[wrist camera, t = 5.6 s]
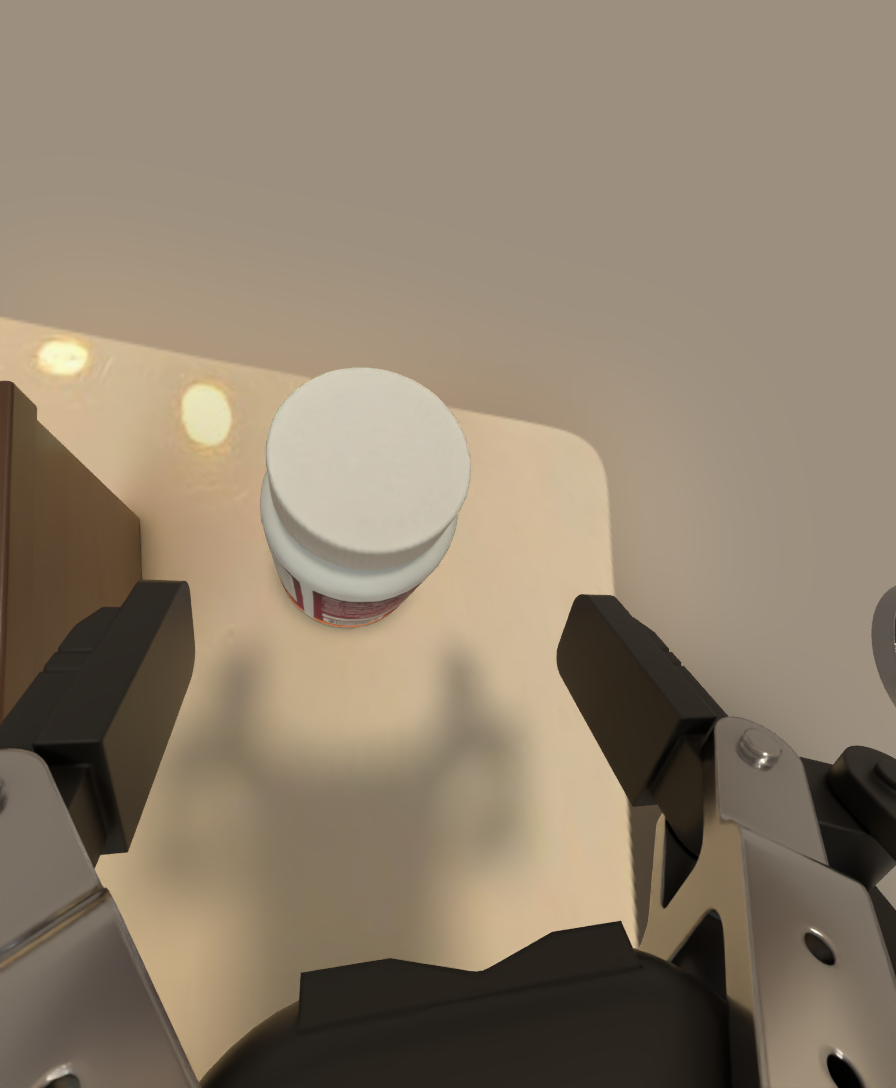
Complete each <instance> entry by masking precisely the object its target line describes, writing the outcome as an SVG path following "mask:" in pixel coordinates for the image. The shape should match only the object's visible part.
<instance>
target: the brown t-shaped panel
mask: <svg viewBox="0 0 896 1088" xmlns="http://www.w3.org/2000/svg"><path fill="white" fill-rule="evenodd" d="M139 580H141V554H140V527H139V518H138V517H137V516H136V515H135V514H134V513H133V512H132V511H131V510H130V509H129V508H128V507H127V506H126V505H125V504H124V503H123V502H122V501H121V500H120V499H119V498H118V497H117V496H116V495H115V494H113V493H112V492H111V491H110V490H109V489H108V488H107V487H106V486H105V485H104V484H103V483H102V482H101V481H100V480H99V479H98V478H97V477H96V476H95V475H94V474H93V473H92V472H91V471H90V470H89V469H88V468H86V467H85V466H84V465H83V464H82V463H81V462H80V461H79V460H78V459H77V458H76V457H75V456H74V455H73V454H72V453H71V452H70V451H69V450H68V449H67V448H66V447H65V446H64V445H63V444H62V443H61V442H59V441H58V440H57V439H56V438H55V437H54V436H53V435H52V434H51V433H50V432H49V431H48V430H47V429H46V428H45V427H44V426H43V425H42V424H41V423H40V422H39V421H38V420H37V407H36V405H35V404H34V403H33V402H32V401H31V400H30V399H29V398H28V397H27V396H26V395H25V394H24V393H23V392H22V391H21V390H20V389H19V388H18V387H17V386H16V385H15V384H14V383H13V382H10V381H0V724H1V723H2V722H3V720H4V719H5V718H6V716H7V715H8V714H9V712H10V711H11V710H12V708H13V707H14V706H15V704H16V703H17V702H18V700H19V699H20V698H21V696H22V695H23V694H24V692H25V691H26V690H27V688H28V687H29V686H30V684H31V683H32V682H33V680H34V679H35V678H36V676H37V675H38V674H39V672H43V670H44V666H45V664H46V663H47V662H48V660H49V659H50V658H51V656H52V655H53V654H54V652H58V647H59V646H60V644H61V643H62V642H63V640H64V639H65V638H66V636H67V635H68V634H69V632H70V631H71V630H72V628H73V627H74V626H75V625H76V624H77V623H79V622H80V621H82V620H83V619H85V618H86V617H88V616H89V615H91V614H92V613H94V612H95V611H97V610H98V609H100V608H101V607H121V606H122V604H123V603H124V601H125V600H126V598H127V597H128V595H129V593H130V592H131V590H132V589H133V587H134V586H135V584H136V583H137V582H138V581H139Z"/></svg>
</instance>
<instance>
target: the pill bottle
mask: <svg viewBox="0 0 896 1088" xmlns="http://www.w3.org/2000/svg"><path fill="white" fill-rule="evenodd" d="M266 466H267V471H266V474H265V477H264V480H263V484H262V489H261V497H260V510H261V521H262V524H263V527H264V531H265V535H266V538H267V542H268V545H269V548H270V550H271V553H272V556H273V559H274V562H275V565H276V568H277V571H278V574H279V577H280V579H281V582H282V584H283V586H284V588H285V590H286V592H287V594H288V595H289V597H290V598H291V600H292V601H293V602H294V604H295V605H296V606H297V607H298V608H299V609H300V610H301V611H303V612H304V613H305V614H307V615H308V616H310V617H311V618H313V619H314V620H317V621H319V622H321V623H324V624H327V625H330V626H335V627H344V628H351V627H360V626H365V625H368V624H371V623H374V622H377V621H379V620H380V619H382V618H384V617H386V616H387V615H389V614H390V613H391V612H393V611H394V610H395V609H396V608H397V607H398V606H399V605H400V604H401V603H402V602H403V601H404V600H405V599H406V598H407V597H408V596H409V595H410V594H411V593H412V592H413V591H414V590H415V589H416V588H417V587H418V586H419V585H420V584H421V583H422V582H423V581H424V580H425V579H426V578H427V577H428V576H429V575H430V574H431V573H432V572H433V571H434V570H435V569H436V568H437V566H438V565H439V563H440V562H441V560H442V559H443V557H444V556H445V554H446V552H447V550H448V548H449V547H450V544H451V542H452V539H453V536H454V533H455V529H456V524H457V516H458V512H459V511H460V509H461V507H462V505H463V503H464V500H465V498H466V495H467V491H468V488H469V482H470V474H471V463H470V454H469V448H468V444H467V441H466V438H465V435H464V433H463V430H462V428H461V427H460V425H459V423H458V421H457V420H456V418H455V416H454V415H453V414H452V412H451V411H450V410H449V408H448V407H447V406H446V405H445V404H444V403H443V402H442V401H441V400H440V399H439V398H438V397H437V396H436V395H435V394H433V393H432V392H431V391H430V390H428V389H427V388H426V387H424V386H422V385H421V384H419V383H418V382H416V381H414V380H412V379H410V378H408V377H405V376H403V375H400V374H398V373H395V372H392V371H387V370H382V369H376V368H361V367H360V368H346V369H339V370H334V371H331V372H327V373H324V374H322V375H320V376H318V377H315V378H313V379H311V380H310V381H308V382H306V383H305V384H303V385H302V386H300V387H299V388H298V389H296V390H295V391H294V392H293V393H292V394H291V395H290V396H289V397H288V398H287V399H286V400H285V401H284V403H283V404H282V405H281V406H280V408H279V410H278V411H277V413H276V415H275V417H274V419H273V421H272V424H271V427H270V430H269V433H268V438H267V443H266Z"/></svg>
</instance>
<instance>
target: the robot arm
mask: <svg viewBox="0 0 896 1088" xmlns="http://www.w3.org/2000/svg"><path fill="white" fill-rule="evenodd" d="M194 660H195V641H194V630H193V619H192V609H191V598H190V589H189V585H188V583H187V582H186V581H167V580H139V581H138V582H137V583H136V584H135V586H134V587H133V589H132V590H131V592H130V593H129V595H128V597H127V598H126V600H125V601H124V603H123V604H122V606H121V607H101V608H100V609H98V610H97V611H95V612H94V613H92V614H91V615H89V616H88V617H86V618H85V619H83V620H82V621H80V622H79V623H77V624H76V625H75V626H74V627H73V628H72V630H71V631H70V632H69V634H68V635H67V636H66V638H65V639H64V640H63V642H62V643H61V644H60V646H59V647H58V652H54V654H53V655H52V656H51V658H50V659H49V660H48V662H47V663H46V664H45V666H44V670H43V672H39V674H38V675H37V676H36V678H35V679H34V680H33V682H32V683H31V684H30V686H29V687H28V688H27V690H26V691H25V692H24V694H23V695H22V696H21V698H20V699H19V700H18V702H17V703H16V704H15V706H14V707H13V708H12V710H11V711H10V712H9V714H8V715H7V716H6V718H5V719H4V720H3V722H2V723H1V724H0V1088H896V910H895V909H894V908H893V906H891V904H890V903H889V902H888V900H887V899H886V898H885V897H884V896H883V894H882V893H881V892H880V891H879V890H878V888H877V887H876V886H875V885H876V884H877V883H878V882H879V881H880V880H881V879H882V878H883V877H884V876H885V875H886V874H887V873H888V872H889V871H890V870H891V869H892V868H893V867H894V866H896V759H894V758H893V757H891V756H889V755H887V754H885V753H882V752H880V751H877V750H875V749H871V748H868V747H864V746H850V747H848V748H846V750H844V752H843V753H842V754H841V755H840V757H839V758H838V759H837V761H836V762H835V763H834V764H833V765H832V764H828V763H823V762H819V761H815V760H811V759H806V758H803V757H799V756H798V755H797V754H796V752H795V751H794V750H793V749H792V748H791V747H790V746H789V745H788V744H787V743H786V742H785V741H784V740H783V739H781V738H780V737H779V736H778V735H776V734H775V733H773V732H772V731H770V730H769V729H767V728H765V727H764V726H762V725H759V724H757V723H755V722H753V721H750V720H747V719H744V718H740V717H728V715H727V714H726V713H725V712H724V711H723V710H722V709H721V708H720V706H719V705H718V704H717V703H716V702H715V701H714V700H713V698H712V697H711V696H710V695H709V694H708V693H707V691H706V690H705V689H704V688H703V687H702V686H701V685H700V684H699V682H698V681H697V680H696V679H695V678H694V677H693V676H692V674H691V673H690V672H689V671H688V670H687V669H686V668H685V667H684V666H681V662H680V661H679V660H678V659H677V657H676V656H675V655H674V654H673V653H672V652H669V649H668V647H667V646H666V645H665V644H664V643H663V641H662V640H661V639H660V638H659V637H658V636H657V635H656V634H655V632H653V631H652V630H650V629H649V628H648V627H646V626H645V625H644V624H642V623H641V622H639V621H638V620H636V619H635V618H633V617H632V616H631V615H630V614H629V612H628V611H627V610H626V609H625V608H624V607H623V605H622V604H621V603H620V602H619V601H618V599H617V598H615V597H614V596H612V595H585V594H581V595H579V596H577V597H576V598H575V600H574V602H573V605H572V607H571V610H570V613H569V616H568V619H567V622H566V625H565V628H564V630H563V633H562V636H561V639H560V642H559V645H558V648H557V667H558V671H559V673H560V676H561V678H562V679H563V681H564V683H565V685H566V687H567V688H568V690H569V692H570V694H571V696H572V697H573V699H574V701H575V703H576V705H577V707H578V708H579V710H580V712H581V714H582V716H583V717H584V719H585V721H586V723H587V725H588V726H589V728H590V730H591V732H592V734H593V736H594V737H595V739H596V741H597V743H598V745H599V746H600V748H601V750H602V752H603V754H604V755H605V757H606V759H607V761H608V763H609V765H610V766H611V768H612V770H613V772H614V774H615V775H616V777H617V779H618V781H619V783H620V785H621V786H622V788H623V790H624V792H625V794H626V795H627V797H628V799H629V801H630V803H631V804H632V806H633V807H635V806H646V805H656V804H658V806H659V808H660V809H661V811H662V815H661V817H660V818H659V820H658V822H657V827H656V837H655V850H654V861H653V873H652V886H651V897H650V909H649V919H648V924H647V928H646V932H645V935H644V938H643V940H642V943H641V945H640V949H639V950H638V949H635V948H633V947H632V945H631V943H630V941H629V938H628V936H627V934H626V931H625V929H624V927H623V925H622V922H621V921H617V922H611V923H604V924H598V925H592V926H586V927H580V928H574V929H568V930H561V931H555V932H551V933H549V934H548V935H546V936H544V937H542V938H541V939H539V940H537V941H535V942H534V943H532V944H530V945H528V946H527V947H525V948H523V949H521V950H520V951H518V952H516V953H514V954H513V955H511V956H509V957H507V958H506V959H504V960H502V961H500V962H499V963H497V964H495V965H493V966H492V967H490V968H488V969H486V970H483V971H478V972H475V971H466V970H460V969H454V968H447V967H441V966H435V965H429V964H422V963H416V962H410V961H404V960H398V959H391V958H389V959H383V960H377V961H371V962H364V963H358V964H352V965H346V966H340V967H334V968H327V969H321V970H315V971H309V972H303V973H301V978H300V995H299V1001H297V1002H295V1003H293V1004H292V1005H290V1006H288V1007H286V1008H284V1009H282V1010H280V1011H278V1012H276V1013H275V1014H274V1015H272V1016H271V1017H269V1018H268V1019H266V1020H265V1021H263V1022H262V1023H260V1024H259V1025H258V1026H256V1027H255V1028H253V1029H252V1030H251V1031H250V1032H249V1033H247V1034H246V1035H245V1036H244V1037H243V1038H242V1039H240V1040H239V1041H238V1042H237V1043H236V1044H235V1045H233V1046H232V1047H231V1048H230V1049H229V1050H228V1051H227V1052H226V1053H225V1054H224V1055H223V1056H222V1057H221V1058H220V1059H219V1061H218V1062H217V1063H216V1064H215V1065H214V1066H213V1067H212V1068H211V1069H210V1070H209V1071H208V1072H207V1073H206V1074H205V1076H204V1077H203V1078H202V1079H201V1081H200V1082H199V1083H198V1080H197V1078H196V1076H195V1074H194V1072H193V1070H192V1067H191V1065H190V1063H189V1061H188V1059H187V1057H186V1054H185V1052H184V1050H183V1048H182V1046H181V1044H180V1041H179V1039H178V1037H177V1035H176V1033H175V1031H174V1028H173V1026H172V1024H171V1022H170V1020H169V1018H168V1016H167V1013H166V1011H165V1009H164V1007H163V1005H162V1003H161V1000H160V998H159V996H158V994H157V992H156V990H155V987H154V985H153V983H152V981H151V979H150V977H149V974H148V972H147V970H146V968H145V966H144V964H143V961H142V959H141V957H140V955H139V953H138V951H137V948H136V946H135V944H134V942H133V940H132V938H131V935H130V933H129V931H128V929H127V927H126V925H125V922H124V920H123V918H122V916H121V914H120V912H119V909H118V907H117V905H116V903H115V901H114V899H113V897H112V896H111V894H110V892H109V890H108V889H107V888H103V886H102V884H101V882H100V880H99V878H98V876H97V874H96V872H95V867H96V864H97V862H98V859H99V857H100V855H104V854H115V853H125V852H128V850H129V848H130V845H131V842H132V839H133V837H134V834H135V831H136V828H137V826H138V823H139V820H140V817H141V815H142V812H143V809H144V806H145V804H146V801H147V798H148V795H149V793H150V790H151V787H152V784H153V782H154V779H155V776H156V773H157V771H158V768H159V765H160V762H161V760H162V757H163V754H164V751H165V749H166V746H167V743H168V740H169V738H170V735H171V732H172V729H173V727H174V724H175V721H176V718H177V716H178V713H179V710H180V707H181V705H182V702H183V699H184V696H185V694H186V691H187V688H188V685H189V683H190V680H191V677H192V672H193V667H194Z"/></svg>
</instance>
